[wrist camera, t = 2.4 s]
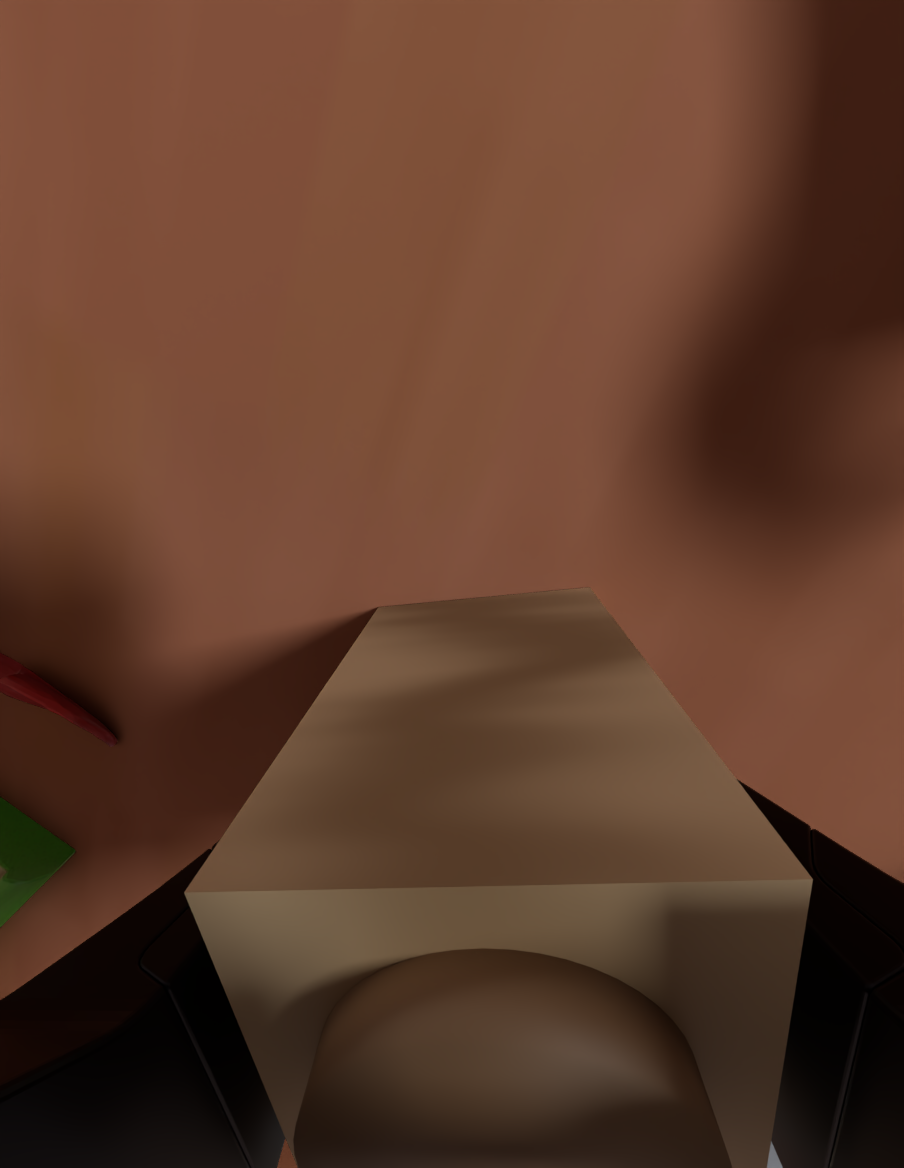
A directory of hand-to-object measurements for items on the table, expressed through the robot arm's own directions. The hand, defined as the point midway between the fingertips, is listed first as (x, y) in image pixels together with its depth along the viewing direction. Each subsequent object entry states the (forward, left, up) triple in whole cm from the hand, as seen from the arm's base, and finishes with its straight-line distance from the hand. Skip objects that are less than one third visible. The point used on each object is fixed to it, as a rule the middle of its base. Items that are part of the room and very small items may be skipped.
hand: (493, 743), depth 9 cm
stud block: (0, 0, -2) cm, 2 cm away
